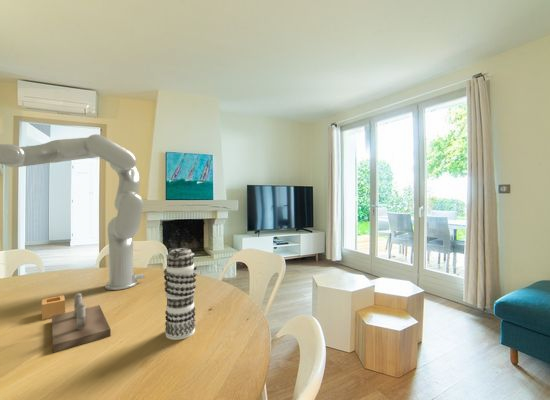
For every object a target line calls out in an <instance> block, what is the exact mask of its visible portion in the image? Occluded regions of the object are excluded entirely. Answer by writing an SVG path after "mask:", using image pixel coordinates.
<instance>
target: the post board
mask: <svg viewBox="0 0 550 400" xmlns="http://www.w3.org/2000/svg"><path fill="white" fill-rule="evenodd" d="M73 299H74V301H73V302H74V304H73V306H74V308H73V309H74V310H73V311H68V312H65V313H62V314H58V315H53V316H52V318H51V334H52V353H56V352H60V351H63V350H67V349H70V348H74V347H77V346H79V345H80V346H81V345H84V344H88V343H91V342H95V341H97V340H101V339H104V338H108V337H111V336H112V335H111V334H112V333H111V327H110V325H109V323H108V321H107V319H106V316H105V314H104V311H103V310H102V307H101V305H94V306H90V307H86V304H85V302H83V294H82V293H79V292H78V293H76V294H75V295H74V297H73Z"/></svg>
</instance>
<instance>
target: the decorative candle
mask: <svg viewBox="0 0 550 400" xmlns="http://www.w3.org/2000/svg"><path fill="white" fill-rule="evenodd" d="M194 256H195V253H194V252H193V251H192V249H190V248H188V247H180V248H173V249H171V250H170V251H169V253H168V254H166V255H165V257H166V265H165V266H166V267H165V269H164V270H163V274H164V276H163V278H164V281H165V282H164V292H165V298H166V305H165V306H166V307H165V308H166V310H165V312H164V313H165V323H164V326H165V329H164V330H165V337H166V338H167V339H169V340H172V341H173V340H175V341H177V340H184V339H187V338H189V337H191V336H193V334H194V333H195V331H196V328H195V327H196V312H195V311H196V308H195V301H194V298H195V297H194V295H195V293H196V290H195V289H196V287H197V285H196V284H194V283H195V282H196V281H197V279H196V278H195V277H196V276H197V273H195V271H196V270H197V266H195V263H194Z"/></svg>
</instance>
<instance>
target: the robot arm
mask: <svg viewBox="0 0 550 400" xmlns="http://www.w3.org/2000/svg"><path fill="white" fill-rule="evenodd" d="M94 158H100V159H102V160H104V161H105V162H108V163H109V166H110V168H111V169H112V170H114V171H115V172H116V174H117V175H118V185H117V191H116V196H115V199H114V207H115V210H117V214H116V216H114V217H113V218H112V219H111V220H110V221H109V222H108V224H107V237H108V279H109V280H108V282H107V283H106V284H105V285H104V288H105V289H106V290H108V291H109V290H110V291H117V290H118V291H120V290H126V289H130V288H132V287H134V286H136V285H137V284H138V280H139V279H140V280H141V279H145V277H146V275H145V273H136V274H135V273H134V241H133V240H134V239H133V238H134V237H136V235H137V234H138V232H139V229H140V226H141V221H142V218H143V217H142V216H143V211H144V200H143V198H142V196H141V195H139V191H140V185H141V177H140V173H139V170H138V169H137V167H136V165H137V159H136V156H135V155H134V154H133V153H132V152H131V151H130V150H128V149H127V148H125V147H123V146H122V145H119V144H117V143H116V142H114V141H113V140H111V139H109V138H108V137H106V136H104V135H101V134H91V135H89V136H87V137H77V138H65V139H62V138H61V139H53V140H51V141H47V142H45V143H40V144H35V145H27V146H19V145H15V144H13V143H12V144H10V143H1V144H0V165H3V166H6V167H8V168H22V167H29V166H36V165H37V166H38V165H45V164H52V163H62V162H69V161H75V160H85V159H94Z"/></svg>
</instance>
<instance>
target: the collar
mask: <svg viewBox="0 0 550 400" xmlns="http://www.w3.org/2000/svg"><path fill="white" fill-rule="evenodd" d="M62 313H66V299H65V295H64V294H63V295H58V296H52V297H48V298H42V299H41V320H42V321H43V320H48V319H52V316H53V315H58V314H62Z"/></svg>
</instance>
